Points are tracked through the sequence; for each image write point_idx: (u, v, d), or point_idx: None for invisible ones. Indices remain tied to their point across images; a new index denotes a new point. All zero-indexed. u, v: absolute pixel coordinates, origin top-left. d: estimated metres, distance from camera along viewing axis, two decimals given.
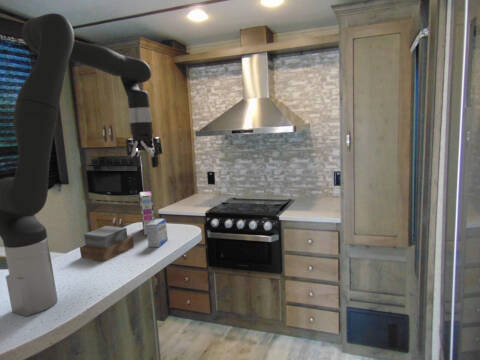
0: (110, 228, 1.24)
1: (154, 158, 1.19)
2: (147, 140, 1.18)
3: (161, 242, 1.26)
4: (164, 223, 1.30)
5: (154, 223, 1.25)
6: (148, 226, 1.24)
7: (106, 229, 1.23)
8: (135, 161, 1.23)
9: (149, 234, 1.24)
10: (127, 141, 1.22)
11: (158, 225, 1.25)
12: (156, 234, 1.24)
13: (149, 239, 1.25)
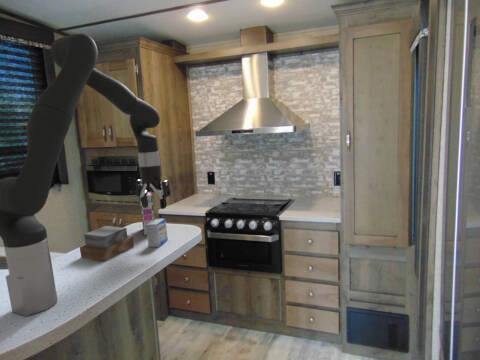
0: (110, 228, 1.24)
1: (162, 200, 1.23)
2: (156, 183, 1.23)
3: (161, 242, 1.26)
4: (164, 223, 1.30)
5: (154, 223, 1.25)
6: (148, 226, 1.24)
7: (106, 229, 1.23)
8: (144, 202, 1.27)
9: (149, 234, 1.24)
10: (136, 182, 1.27)
11: (158, 225, 1.25)
12: (156, 234, 1.24)
13: (149, 239, 1.25)
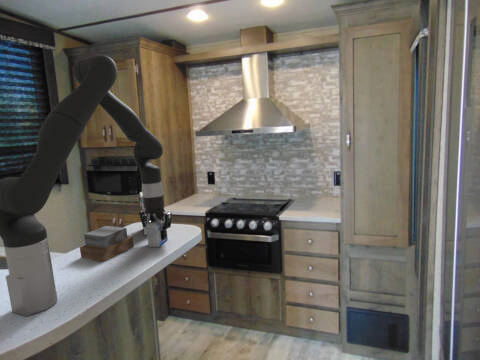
0: (110, 228, 1.24)
1: (163, 231, 1.26)
2: (159, 213, 1.24)
3: (161, 242, 1.26)
4: None
5: (154, 223, 1.25)
6: (148, 226, 1.24)
7: (106, 229, 1.23)
8: None
9: (149, 234, 1.24)
10: (140, 214, 1.29)
11: (158, 224, 1.25)
12: (156, 234, 1.24)
13: (149, 239, 1.25)
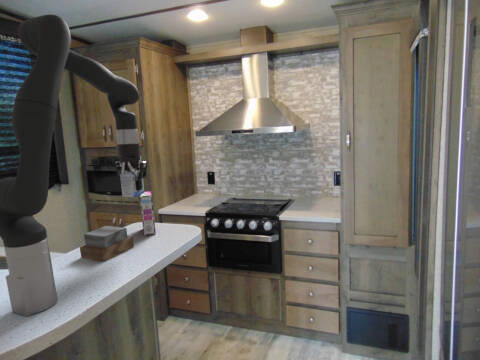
0: (110, 228, 1.24)
1: (138, 181, 1.20)
2: (134, 161, 1.19)
3: (136, 193, 1.20)
4: None
5: (129, 172, 1.19)
6: (122, 175, 1.18)
7: (106, 229, 1.23)
8: None
9: (123, 183, 1.19)
10: (115, 164, 1.23)
11: (133, 174, 1.19)
12: (130, 183, 1.18)
13: (123, 189, 1.19)
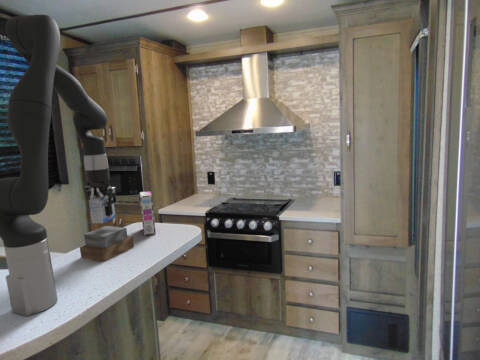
0: (110, 228, 1.24)
1: (108, 207, 1.18)
2: (103, 187, 1.17)
3: (106, 218, 1.19)
4: None
5: (98, 198, 1.17)
6: (91, 201, 1.16)
7: (106, 229, 1.23)
8: None
9: (92, 209, 1.17)
10: (85, 189, 1.21)
11: (102, 199, 1.17)
12: (99, 209, 1.16)
13: (93, 215, 1.17)
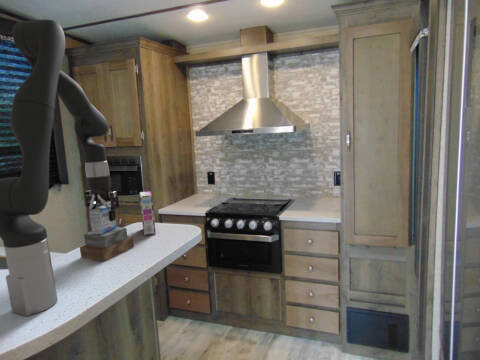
0: None
1: (111, 212, 1.18)
2: (104, 194, 1.17)
3: (106, 229, 1.19)
4: None
5: (98, 209, 1.18)
6: (91, 212, 1.17)
7: None
8: None
9: (92, 220, 1.17)
10: (85, 193, 1.21)
11: (102, 210, 1.17)
12: (99, 220, 1.17)
13: (93, 226, 1.18)
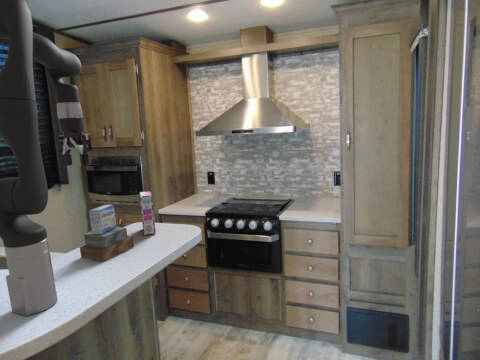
0: None
1: (83, 156, 1.13)
2: (76, 137, 1.13)
3: (106, 229, 1.19)
4: (111, 209, 1.22)
5: (98, 209, 1.18)
6: (91, 212, 1.17)
7: None
8: (67, 159, 1.18)
9: (92, 220, 1.17)
10: (58, 138, 1.17)
11: (102, 210, 1.17)
12: (99, 220, 1.17)
13: (93, 226, 1.18)
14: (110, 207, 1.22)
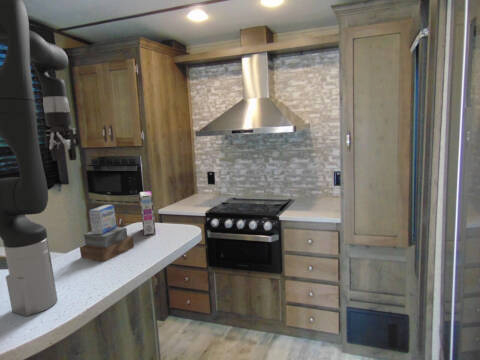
0: None
1: (71, 150, 1.12)
2: (63, 131, 1.12)
3: (106, 229, 1.19)
4: (111, 209, 1.22)
5: (98, 209, 1.18)
6: (91, 212, 1.17)
7: None
8: (54, 154, 1.16)
9: (92, 220, 1.17)
10: (45, 133, 1.16)
11: (102, 210, 1.17)
12: (99, 220, 1.17)
13: (93, 226, 1.18)
14: (110, 207, 1.22)
